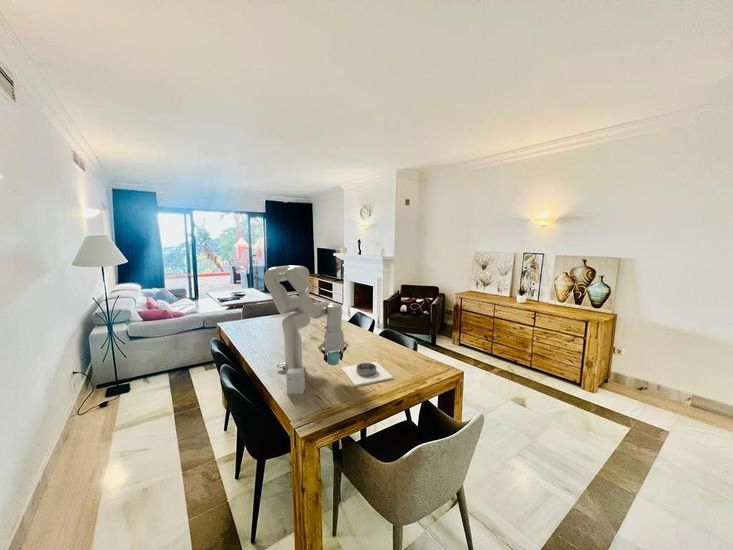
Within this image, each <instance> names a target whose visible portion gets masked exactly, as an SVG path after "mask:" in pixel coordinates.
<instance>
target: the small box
mask: <svg viewBox="0 0 733 550" xmlns="http://www.w3.org/2000/svg"><path fill="white" fill-rule="evenodd" d="M305 375H306V374H305V369H304V368H299V369H288V371H287V373H286V372H285V377H286V394H287V395H292V394H293V395H300V394H304V392H305V389H306V379H305V377H306V376H305Z"/></svg>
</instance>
